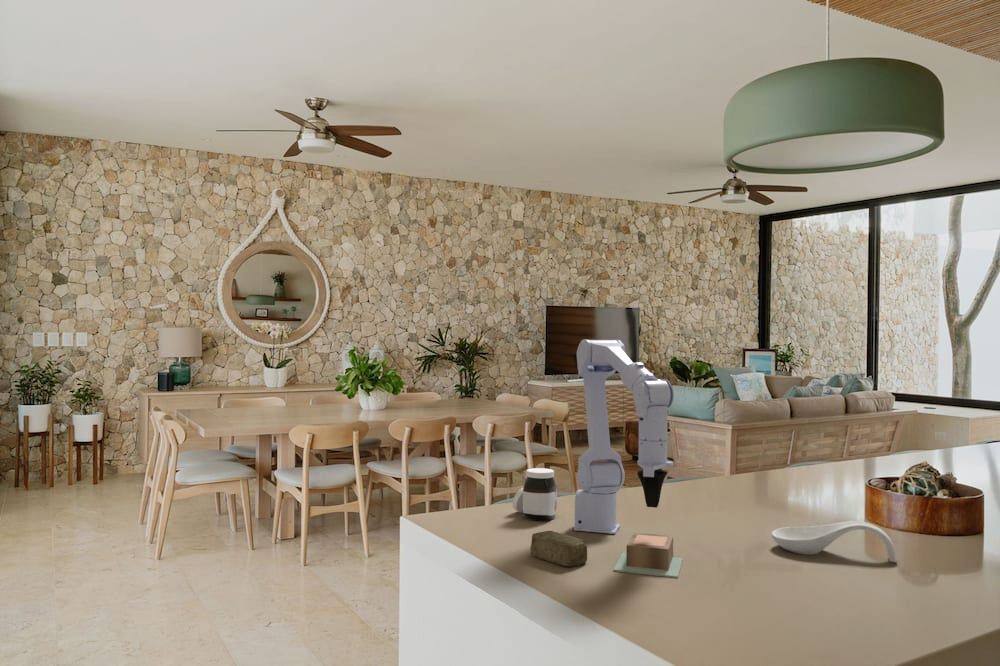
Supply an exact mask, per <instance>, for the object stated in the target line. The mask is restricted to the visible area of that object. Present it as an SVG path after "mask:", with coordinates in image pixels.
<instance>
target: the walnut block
mask: <svg viewBox="0 0 1000 666" xmlns="http://www.w3.org/2000/svg"><path fill="white" fill-rule="evenodd" d="M626 553H627V554H626V566H632V567H642V568H651V569H661V570H669V567H670V564H671V561H672V558H673V557H674V535H666V534H657V533H655V534H654V533H652V534H651V533H645V532H644V533H642V532H633V533H632V534H631V536H630V539H629V540H628V542H627V544H626Z"/></svg>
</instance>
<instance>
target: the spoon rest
mask: <svg viewBox="0 0 1000 666" xmlns="http://www.w3.org/2000/svg"><path fill="white" fill-rule="evenodd" d="M857 530H861V531H867V532H869V533H871V534H873V535H875V536H877V537H878V538H879V539H880V540H882V542H883V543H884V545H885V547H886V552H887V556H888V559H889V561H890V562H891V563H895V564H896V562H897V555H896V550H895V547H894V544H893V541H892V539H891V538H890V537H889V535H888V534H887V533H886V532H885V531H884V530H883V529H881V528H880V527H878V526H876V525H874V524H872V523H870V522H867V521H859V520H849V521H841V522H836V523H830V524H823V525H812V526H810V525H809V526H808V525H807V526H805V525H804V526H800V525H798V526H786V527H785V526H784V527H780V528H776V529H774V530H773V531H772V532H771V533H770V534H771V537H772V539H773V540H774V541H775V543H776V544H777V545H778V546H780V547H781V548H783V549H784V550H786V551H789V552H791V553H795V554H799V555H817V554H820V552H822V551H823V550H824V549H826V548H827V547H829V546H830V545H832V543H833V542H834V541H836V540H838V539H839V538H840V537H841V536H843V535H845V534H847V533H849V532H851V531H857Z"/></svg>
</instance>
